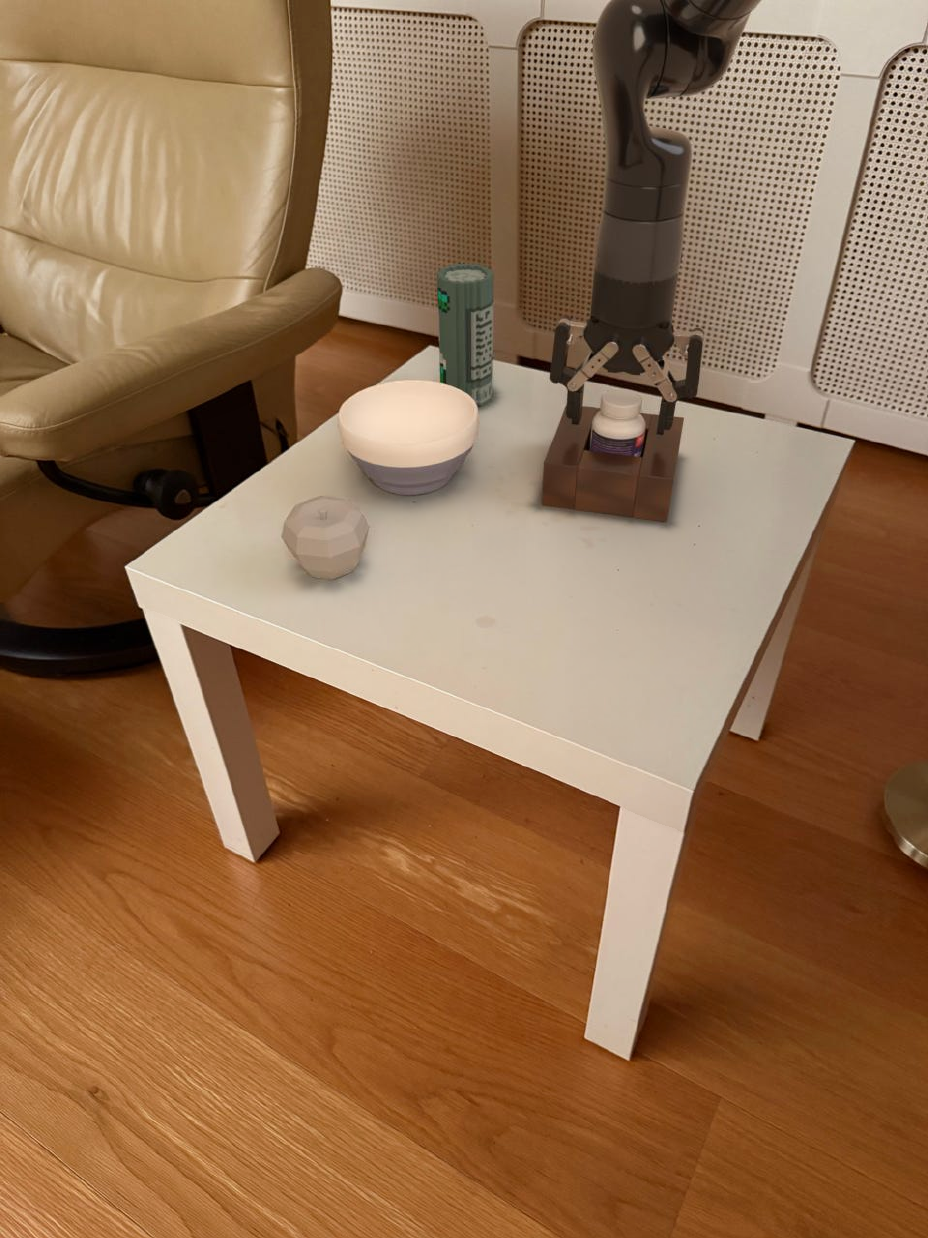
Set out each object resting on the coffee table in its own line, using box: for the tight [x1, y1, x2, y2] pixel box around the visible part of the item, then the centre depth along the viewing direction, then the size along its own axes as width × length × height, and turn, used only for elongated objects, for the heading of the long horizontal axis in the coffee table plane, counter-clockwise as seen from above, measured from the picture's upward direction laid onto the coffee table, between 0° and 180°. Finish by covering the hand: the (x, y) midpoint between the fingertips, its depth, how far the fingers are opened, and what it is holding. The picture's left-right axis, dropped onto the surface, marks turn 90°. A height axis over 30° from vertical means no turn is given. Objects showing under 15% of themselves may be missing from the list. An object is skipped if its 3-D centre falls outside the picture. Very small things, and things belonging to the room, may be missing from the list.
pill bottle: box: [589, 388, 645, 457], centre depth 90 cm, size 5×5×10 cm
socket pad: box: [541, 403, 685, 523], centre depth 92 cm, size 13×13×5 cm
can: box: [436, 263, 495, 408], centre depth 103 cm, size 6×6×15 cm
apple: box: [281, 495, 370, 580], centre depth 80 cm, size 8×8×7 cm
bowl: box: [337, 379, 480, 496], centre depth 92 cm, size 14×14×8 cm
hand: (618, 426), depth 89 cm, fingers open, 8 cm apart
